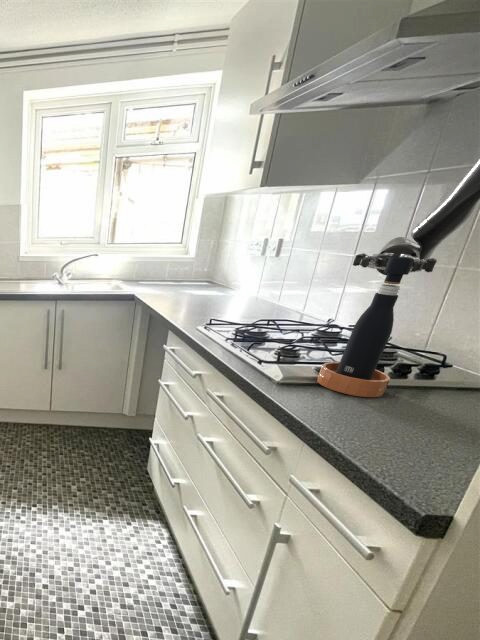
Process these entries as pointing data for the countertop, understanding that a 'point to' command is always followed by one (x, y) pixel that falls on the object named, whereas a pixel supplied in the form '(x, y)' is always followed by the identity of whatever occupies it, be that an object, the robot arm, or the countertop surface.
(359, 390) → the bowl
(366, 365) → the dark water bottle
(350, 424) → the countertop surface
